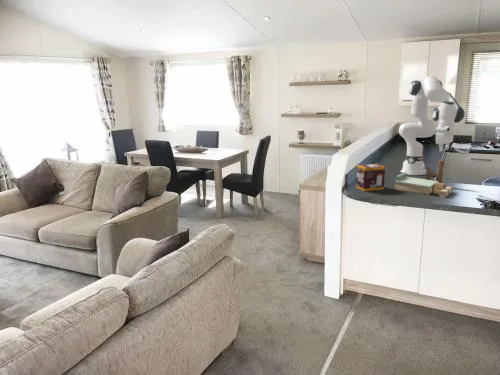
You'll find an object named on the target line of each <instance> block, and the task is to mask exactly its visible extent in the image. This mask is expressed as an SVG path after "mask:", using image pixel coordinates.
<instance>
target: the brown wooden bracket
mask: <svg viewBox="0 0 500 375" xmlns="http://www.w3.org/2000/svg"><path fill="white" fill-rule="evenodd" d="M437 163H438V164H437V172H435V171H434V170H433V169H432V168H431V167H430V166H429V165H428V164H426V169H425V170H426V174H425V175H424V176H425V178H424V179H426V180H432V181H438V183H443V176H444V169H445V160H444V159H439V160H438V162H437ZM432 177H436V179H432Z"/></svg>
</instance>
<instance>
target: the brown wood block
mask: <svg viewBox="0 0 500 375" xmlns="http://www.w3.org/2000/svg"><path fill="white" fill-rule="evenodd" d="M444 188H445V183H443V182H442V183H438V182H436V183H434V189H433V193H432V194H435V195H440V191H441V190H443V189H444Z"/></svg>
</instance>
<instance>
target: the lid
mask: <svg viewBox="0 0 500 375" xmlns="http://www.w3.org/2000/svg"><path fill="white" fill-rule="evenodd" d="M407 175H408V174H407V173H403V172H400V174H397V175H396V176H395V180H394V183H403V184H409V185H415V186H422V187H428V188H430V187H432V186H434V183H436V182H438V181H432V180H433V179H431V180H426V179H425V178H417V177H413V176H412V177H409V176H407Z"/></svg>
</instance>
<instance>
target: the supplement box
mask: <svg viewBox="0 0 500 375" xmlns="http://www.w3.org/2000/svg"><path fill="white" fill-rule="evenodd" d="M355 175H356V177H355V179H356V180H355V188H356V189H358V190H361V191H363V192H369V191H381V190H384V188H385V176H386V166H383V165H381V164H378V163H371V164H370V163H369V164H357V165H356V174H355Z"/></svg>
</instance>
